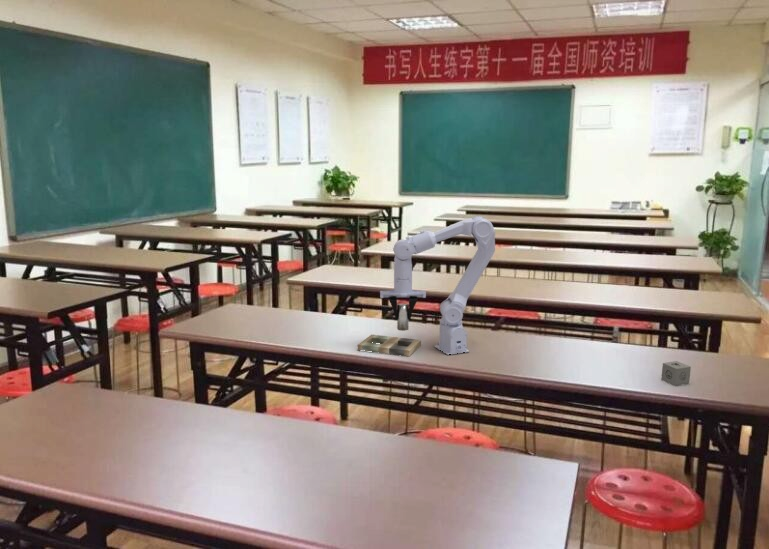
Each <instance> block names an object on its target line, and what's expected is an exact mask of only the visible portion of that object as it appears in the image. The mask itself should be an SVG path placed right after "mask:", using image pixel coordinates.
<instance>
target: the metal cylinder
mask: <svg viewBox="0 0 769 549" xmlns="http://www.w3.org/2000/svg"><path fill="white" fill-rule="evenodd" d="M397 317H398V320H396V323H397V324H396V326H397V327H396V328H397V330H398V331H409V322H410V320H408V317H409V303H397Z"/></svg>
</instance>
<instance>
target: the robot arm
mask: <svg viewBox="0 0 769 549" xmlns="http://www.w3.org/2000/svg"><path fill="white" fill-rule="evenodd" d="M459 235H464V236H469V237H472V236H473V238H474V240H475V244H476V247H477V251H475V254H474V255H473V257H472V258H471V260H470V262H469V264H468V265H467V267H466V269H465V270H464V272H463V274H462V276H461V277H460V280H459V281H458V283H457V285H456V286H455V289H454V290H453V291H452V292H451V293H450V294H449V296H448V297H447V298H446V299H445V300H443V301H442V302H441V304H440V305H439V312H440V314H441V316H442V317H441V319H440V320H439V338H438V339H439V344H435V345H434V348H436V349H438V350H439V351H440V350H441V352H442V351H443V352H442V353H444V354H445V353H446V354H445V355H447V356H450V355H449V354H451V355H457V353H458V354H464V353H463V352H465V353H469V352H470V350H469V349H468V346H467V345H468V333H467V330H466V329H465V328H464V327H463V326H464V325H463V320H462V319H463V317H464V314H463V313H464V310H465V309H466V307H467V306H466V305H467V301H468V299H469V297H470V295H471V294H472V292H473V290H474V288H475V287H476V285H477V283H478V281H479V280H480V278H481V277H482V275H483V273H484V271H485V270H486V268H487V266H488V265H489V263H490V261H491V259H492V257H493V255H494V254H495V251H496V240H495V239H496V237H495V236H496V230H495V227H494V225H493V224H492V222H491V221H490V220H489V219H486V218H485V217H483V216H479V215H476V216H474V217H472V218H471V217H470V218H466V219H463V220H460V221H458V222H455V223H453V224H451V225H449V226H446V227H444V228H441V229H439V230H437V231H436V230H435V231H434V232H432V231H430V230H424V229H423V230H419V233H417V234H414V235H412V236H405V239H399V240H397V241H396V242H395V243H394V244H393V248H392V250H393V253H394V258H393V260H394V263H393V289H391V290H389V289H387V290H380V291H379V294H380V295H379V297H380V299H385V298H388V300H389V301H388V302H389V303H390V306H391V308H392V311H393V314H394V320H395V321H397V320H398V317H397V305H398V298H408V305H409V317H408V320H409V321H411V320H412V314H413V311H414V308H415V306H416V304H417V301H418V298H423V299H426V298H427V292H426V290H417V289H413V263H412V257H413V255H418V254H420V253H423V252H426V251H429V250H431V249H433V248H435V247H436V244H437V243H439V242H442V241H445V240H447V239H451V238H454V237H457V236H459Z"/></svg>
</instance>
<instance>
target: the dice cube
mask: <svg viewBox="0 0 769 549" xmlns="http://www.w3.org/2000/svg"><path fill="white" fill-rule="evenodd" d="M691 367H692V366H690V365H687V364H685V363H683V362H680V361H678V360H674V361H669V362H662V368H661V378H660V379H661V381H663V382H665V383H668V384H670V385H672V386H674V387H678V386H682V384H684V385H688V383H689V384H690V379H691V378H690V377H691V369H692V368H691ZM677 385H678V386H677Z"/></svg>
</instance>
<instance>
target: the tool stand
mask: <svg viewBox="0 0 769 549" xmlns="http://www.w3.org/2000/svg"><path fill="white" fill-rule="evenodd" d="M372 342H373V343H372ZM376 343H380V344H376ZM421 346H422V339H416V338H406V337H399V336H398V337H397V336H388V335H382V334H381V335H379V334H370V335H369V336H368V337H366V338H365V339H363V340H362V341H360V342H359V343H358V344H357V351H358V350H365V351H372V352H371V353H374V352H379V353H378V354H382V353H385V354H384V355H391V354H394V355H393V356H399V355H401V357H407V356H409V358H410V357H411V356H412V355H414V353H415V352H416V351H418V349H419V348H421ZM365 351H364V352H365Z"/></svg>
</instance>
